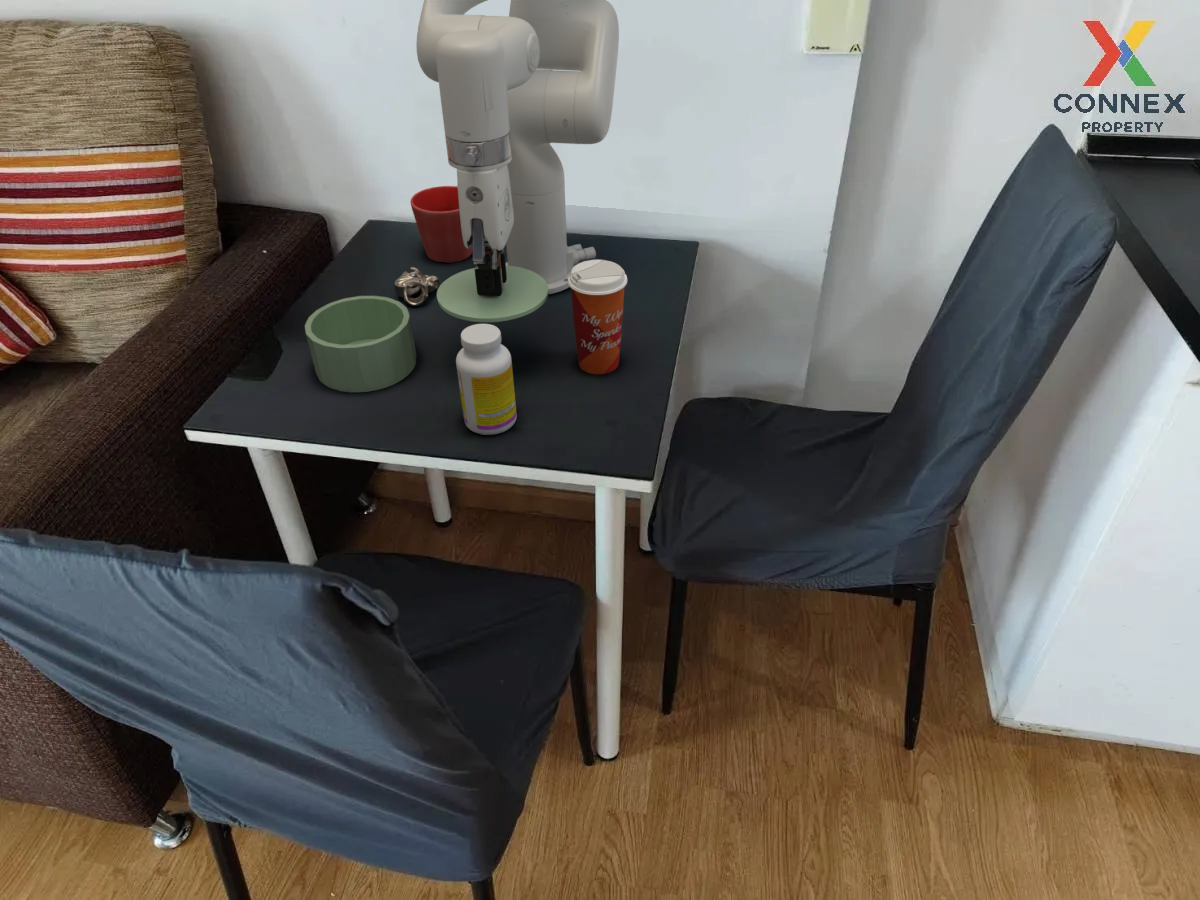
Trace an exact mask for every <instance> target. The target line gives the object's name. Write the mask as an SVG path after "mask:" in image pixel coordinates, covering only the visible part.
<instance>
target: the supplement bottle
mask: <svg viewBox="0 0 1200 900" xmlns="http://www.w3.org/2000/svg"><path fill="white" fill-rule="evenodd" d="M460 343H461V347H462V348H461V349H460V350H459V351H458V352H457V355H456V358H455V364H456V365H455V366H456V374H457V380H458V387H459V394H460V401H461V402H460V403H461V408H462V409H461V410H462V416H463V421H464V425H465V426H466V427H467V428H468V430H470V431H472V433H475V434H479V435H482V436H483V435H484V436H493V435H499V434H502V433H504V432H507V431H509V429H511V428H512V427H513V426H514V425H515V423H516V421H517V417H518V414H517V404H516V403H517V402H516V392H515V385H514V374H513V363H512V361H513V360H512V355H511V352H510V351H509V349H508V348H507V347H506V346H505V345H504V344H502V332H501V330H500V329H499V328H498V327H497V326H496V325H494V324H490V323H476V324H472V325H469V326H467V327H465V328H464V329H463V330H462V331H461V333H460Z"/></svg>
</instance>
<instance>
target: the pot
mask: <svg viewBox="0 0 1200 900" xmlns="http://www.w3.org/2000/svg"><path fill="white" fill-rule="evenodd" d="M304 332H305V336H306V341H307V343H308V348H309V352H310V355H311V359H312V363H313V368H314V370H315V374H316V376H317V378H318V380H319V382H320V383H321V384H323V385H324V386H326V387H327V388H329V389H332V390H335V391H339V392H344V393H367V392H369V393H370V392H373V391H374V392H375V391H378V390H383V389H385V388H388V387H391V386H393V385H395V384H397V383H399V382H401V381H402V380H404V379H405V378H406V377H408V376H409V375H410V374H411V373H412V372H413V371H414V369H415V367H416V364H417V351H416V345H415V338H414V333H413V327H412V320H411V315H410V312H409V309H408V308H407V306H406V305H404V304H403V303H402V302H401V301H398V300H396V299H393V298H391V297H387V296H379V295H356V296H352V297H345V298H342V299H337V300H335V301H332V302H330V303H327V304H325V305H324V306H321V307H320V308H318V309H316V310H315V311H314V312H313V313H312V314H310V316H308V318H307V320H306V322H305V324H304Z"/></svg>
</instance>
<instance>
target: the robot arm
mask: <svg viewBox="0 0 1200 900" xmlns="http://www.w3.org/2000/svg"><path fill="white" fill-rule="evenodd" d="M485 2H488V0H423V3H422V8H421V12H420V15H419V22H418V26H417V34H416V43H415V44H416V56H417V61H418V64H419V67H420V69H421V71H422V73H423V74H424V75H425V76H426V77H427V78H428V79H430V80H431V81H433V82H436V83H438V86H439V96H440V103H441V104H440V105H441V114H442V121H443V130H444V138H445V145H446V154H447V162H448V165H449V166H450V167H452V168H454V169H456V179H457V181H456V182H457V183H456V184H457V185H456V186H457V188H458V199H459V211H460V221H461V230H462V237H463V243H464V246H465V247H466V248H467V249H468V250H470V249H471V247H472V246H473V251H472V263H473V268H474V269H475V278H476V287H477V294H478V295H479V296H501V294H502V283H501V272H500V266H497V252H499V253H500V257H501V268H502V280H503V283H505V282H506V280H507V274H506V266H514V267H520V268H524V269H527V270H530V271H533V272H535V273H537V274H538V275H540V276H541V277H542V278H543V279H544V280H545V281H546V283H547V285H548V295H552V294H553V295H554V294H557V293H560V292H562V291H565V290H567V289H569V288H571V287H570V286H569V284H568V278H569V276H570V275H571V270H572V269H573V267H574V266H576V265H577V264H579V263H581V262H584V261H589V260H596V258H597V253H596V252H597V251H596V249H595V247H594V246H589V247H585V248H583V247H582V245H581V243H578V244H572V245H571V246H568V242H567V241H568V239H567V236H568V235H567V211H566V210H567V209H566V187H565V186H566V183H565V182H566V181H565V171H564V165H563V164H562V161H561V159H560V157H559V155H558V153H557V152H556V150H555V149H554V148H553V146H552V144H568V145H569V144H570V145H595V144H598V143H601V142H602V141H603V140H605V138H606V137H607V135H608V132H609V130H610V126H611V120H612V113H613V106H614V94H615V86H616V85H615V84H616V78H617V77H616V76H617V66H618V57H619V47H620V46H619V43H620V27H619V20H618V15H617V11H616V9H615V8H614V6H613V5H612V4H611V3H610V2H609V1H608V0H510V4H509V12H508V16H505V15H504V16H503V15H484V14H466V13H468V12H469V11H470V10H471V9H473V8H474V7H475V8H476V7H477V6H478V5H481V4H482V3H485ZM505 247H506V248H505ZM505 249H506V253H504V252H505ZM485 251H490V252H491V257H490V255H489V254H485ZM496 251H497V252H496ZM506 257H507V258H506ZM506 259H507V261H506Z"/></svg>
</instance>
